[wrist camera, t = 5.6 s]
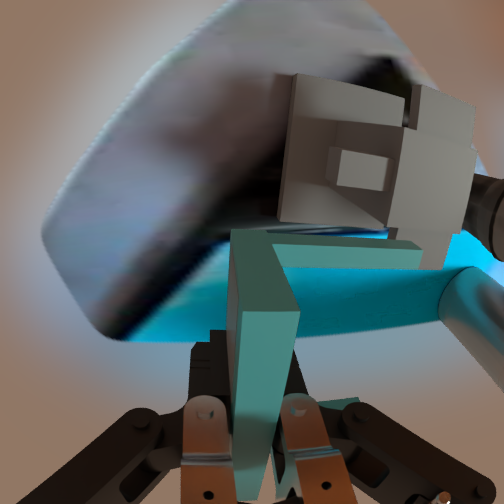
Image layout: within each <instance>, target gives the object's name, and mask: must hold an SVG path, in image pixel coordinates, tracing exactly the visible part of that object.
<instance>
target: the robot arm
mask: <svg viewBox="0 0 504 504" xmlns="http://www.w3.org/2000/svg"><path fill="white" fill-rule="evenodd" d="M438 315H439V318H440V320H441V321H442V322H443V323H444V325H445V326H446V327H447V328H448V329H449V330H450V331H451V332H452V333H453V334H454V335H455V336H456V338H457V339H458V340H459V341H460V342H461V343H462V345H463V346H464V347H465V348H466V349H467V350H468V351H469V352H470V354H471V355H472V356H473V357H474V358H475V359H476V360H477V362H478V363H479V364H480V365H481V366H482V367H483V368H484V370H485V371H486V372H487V373H488V374H489V376H490V377H491V378H492V379H493V381H494V382H495V383H496V384H497V385H498V387H499V388H500V389H501V390H502V391H503V393H504V287H503V286H502V285H500V284H499V283H498V282H497V281H495V280H494V279H493V278H491V277H490V276H489V275H487V274H486V273H485V272H483V271H482V270H481V269H479V268H477V267H470V268H467V269H465V270H463V271H461V272H460V273H459V274H457V275H456V276H455V277H454V278H453V279H452V280H451V282H450V283H449V284H448V285H447V287H446V289H445V290H444V292H443V294H442V296H441V299H440V302H439V307H438ZM226 337H227V331H226V330H210V342H196V344H195V345H194V347H193V348H192V349H191V357H190V358H191V359H190V373H189V390H188V400H187V402H186V404H185V405H184V406H183V407H182V408H181V409H179V410H178V411H176V412H173V413H169V414H164V415H158V414H157V413H156V412H155V411H153V410H151V409H148V408H135V409H132V410H130V411H128V412H126V413H125V414H124V415H123V416H122V417H121V418H119V419H118V420H117V421H116V422H115V423H114V424H112V425H111V426H110V427H109V428H108V429H107V430H105V432H103V433H102V434H101V435H100V436H99V437H97V438H96V439H95V440H94V441H92V442H91V443H90V444H89V445H88V446H87V447H85V448H84V449H83V450H82V451H81V452H79V453H78V454H77V455H76V456H75V457H73V458H72V459H71V460H70V461H69V462H67V463H66V464H65V465H64V466H63V467H61V468H60V469H59V470H58V471H56V472H55V473H54V474H53V475H52V476H50V477H49V478H48V479H47V480H45V481H44V482H43V483H42V484H40V485H39V486H38V487H37V488H35V489H34V490H33V491H32V492H30V493H29V494H28V495H27V496H25V497H24V498H23V499H21V500H20V501H19V502H18V503H16V504H139V503H140V502H141V501H142V500H143V499H144V498H145V497H146V496H147V495H148V494H149V493H150V492H151V491H152V490H153V489H154V488H155V486H156V485H157V484H158V483H159V482H160V481H161V480H162V479H163V478H164V477H165V476H166V475H167V473H168V472H169V471H170V469H175V468H179V467H181V504H250V503H244V502H238V501H237V496H236V487H235V479H234V470H233V462H232V458H231V456H230V447H229V436H228V434H229V427H230V409H231V393H230V380H229V367H228V353H227V338H226ZM270 454H271V459H272V466H273V473H274V479H275V485H276V503H273V504H358V502H357V500H356V496H355V493H354V490H353V487H352V484H353V485H355V486H356V487H357V488H359V489H360V490H362V491H363V492H364V493H366V494H367V495H368V496H370V497H371V498H373V499H374V500H376V501H377V502H379V503H380V504H492V503H493V502H494V500H495V497H496V487H495V485H494V483H493V482H492V481H491V480H490V479H489V478H487V477H486V476H483V475H482V474H480V473H478V472H477V471H475V470H473V469H472V468H470V467H468V466H466V465H465V464H463V463H461V462H460V461H458V460H456V459H454V458H453V457H451V456H450V455H448V454H446V453H444V452H443V451H441V450H440V449H438V448H436V447H434V446H433V445H432V444H430V443H428V442H427V441H425V440H424V439H422V438H420V437H419V436H417V435H416V434H414V433H412V432H411V431H409V430H408V429H406V428H405V427H403V426H402V425H400V424H399V423H397V422H395V421H394V420H392V419H391V418H389V417H388V416H386V415H385V414H383V413H382V412H380V411H379V410H377V409H376V408H374V407H373V406H371V405H369V404H367V403H364V402H353V403H350V404H348V405H346V406H345V407H344V409H343V410H338V409H331V408H326V407H322V406H320V405H318V403H317V402H316V400H315V399H313V398H312V397H311V396H309V394H308V392H307V389H306V386H305V382H304V379H303V376H302V373H301V370H300V368H299V364H298V361H297V358H296V355H295V352H294V349H293V353H292V358H291V363H290V368H289V372H288V377H287V382H286V386H285V391H284V395H283V400H282V404H281V408H280V413H279V417H278V421H277V425H276V430H275V434H274V438H273V442H272V446H271V450H270Z"/></svg>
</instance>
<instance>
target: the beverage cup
mask: <svg viewBox="0 0 504 504" xmlns="http://www.w3.org/2000/svg"><path fill="white" fill-rule="evenodd" d="M462 228H464V229H465V230H466V231H468V232H469V233H470V234H472V235H473V236H474V237H475V238H477V239H478V240H479V241H481V243H482V245H483V246H484V247H485V248H486V249H487V250H488V251H489V252H490V253H492V255H493V257H494V258H496V259H497V260H499V261H501V262H504V179H497V178H493V177H488V176H484V175H480V174H475V173H474V175H473V181H472V186H471V190H470V195H469V199H468V204H467V208H466V212H465V216H464V220H463V224H462Z"/></svg>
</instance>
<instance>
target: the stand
mask: <svg viewBox="0 0 504 504" xmlns="http://www.w3.org/2000/svg"><path fill="white" fill-rule="evenodd" d="M404 101H405V99H404V98H401V97H398V96H394V95H391V94H387V93H384V92H380V91H377V90H373V89H369V88H365V87H361V86H357V85H353V84H349V83H344V82H340V81H335V80H330V79H326V78H320V77H315V76H310V75H304V74H298V73H297V74H295V75H293V80H292V90H291V99H290V108H289V117H288V126H287V135H286V144H285V153H284V161H283V170H282V178H281V186H280V195H279V203H278V211H277V218H278V219H279V221H280V222H295V223H310V224H324V225H337V226H350V227H363V228H375V229H383V227H384V225H385V226H386V227H390V229H389V233H388V237H387V239H392V240H408V241H412V242H413V243H414V244H416V245H417V246H419V247H420V248H421V249H423V254H422V258H421V261H420V265H419V268H418V270H442V267H443V264H444V261H445V258H446V255H447V251H448V248H449V245H450V241H451V238H452V234H460V231H461V228H462V224H463V220H464V216H465V212H466V208H467V204H468V199H469V195H470V190H471V186H472V181H473V175H474V170H475V165H476V159H477V153H478V151H477V150H475V149H472V148H471V144H472V137H473V129H474V121H475V110H476V107H474V106H472V105H470V104H468V103H466V102H464V101H461V100H459V99H456V98H454V97H452V96H449V95H447V94H445V93H442V92H440V91H437V90H435V89H432V88H430V87H427V86H424V85H413V88H412V98H411V108H410V116H409V124H408V128H405V127H401V126H402V118H403V110H404Z"/></svg>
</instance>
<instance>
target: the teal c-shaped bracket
mask: <svg viewBox="0 0 504 504" xmlns="http://www.w3.org/2000/svg"><path fill="white" fill-rule="evenodd" d="M422 254H423V249H421V248H420V247H419V246H417V245H416V244H414V243H413V242H412V241H408V240H392V239H375V238H357V237H338V236H319V235H298V234H275V233H267V232H266V230H245V229H231V239H230V256H229V274H228V294H227V314H226V331H227V337H226V338H227V353H228V367H229V380H230V393H231V409H230V427H229V434H228V436H229V447H230V456H231V458H232V462H233V470H234V479H235V487H236V496H237V501H248V500H249V501H250V500H257V498H258V495H259V491H260V488H261V484H262V480H263V477H264V472H265V469H266V465H267V461H268V457H269V454H270V450H271V446H272V442H273V438H274V434H275V430H276V425H277V421H278V417H279V413H280V408H281V404H282V400H283V395H284V391H285V386H286V382H287V377H288V372H289V368H290V363H291V358H292V353H293V348H294V343H295V338H296V333H297V328H298V323H299V317H300V312H301V311H300V309H299V306H298V304H297V302H296V299H295V297H294V295H293V292H292V290H291V287H290V285H289V283H288V280H287V278H286V276H285V273H284V271H283V269H282V267H305V268H359V269H418V268H419V265H420V261H421V258H422ZM353 402H360V400H359V398H358V397H354V398H346V399H339V400H330V401H320V402H317V403H318V405H320V406H322V407H326V408H331V409H338V410H343V409H344V407H345V406H346V405H348V404H350V403H353Z"/></svg>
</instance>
